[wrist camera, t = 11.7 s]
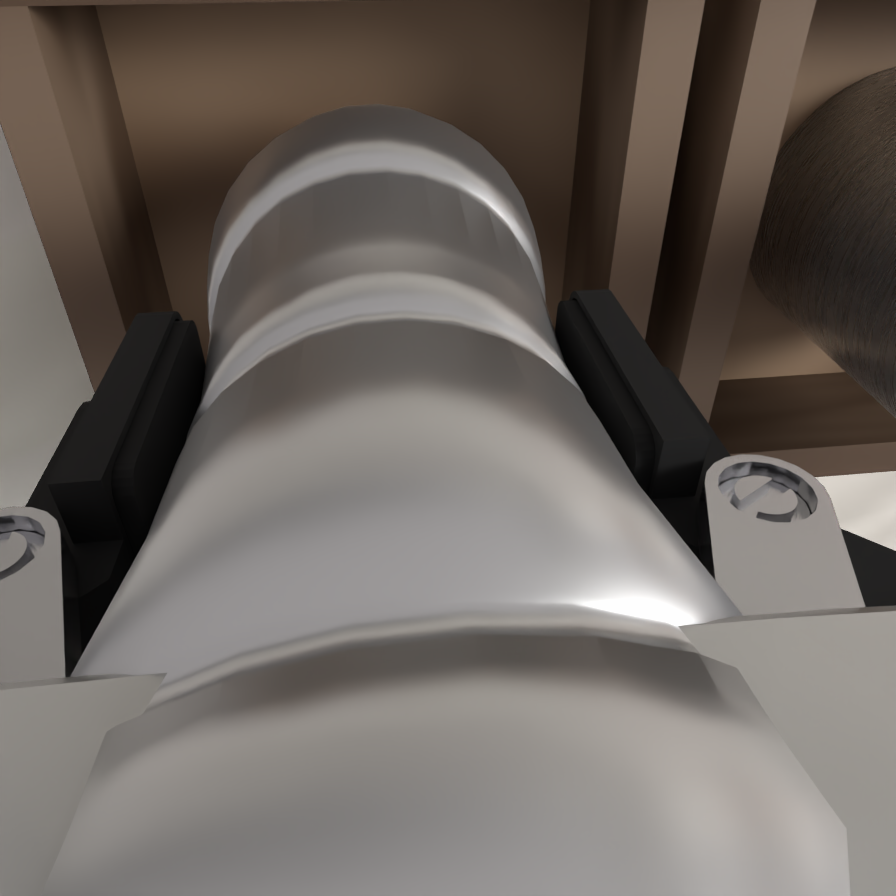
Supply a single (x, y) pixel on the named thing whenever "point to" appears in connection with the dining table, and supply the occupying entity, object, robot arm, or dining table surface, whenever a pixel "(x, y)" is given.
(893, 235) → the grey metal canister
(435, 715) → the plastic bottle
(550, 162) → the wooden compartment tray
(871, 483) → the dining table surface
